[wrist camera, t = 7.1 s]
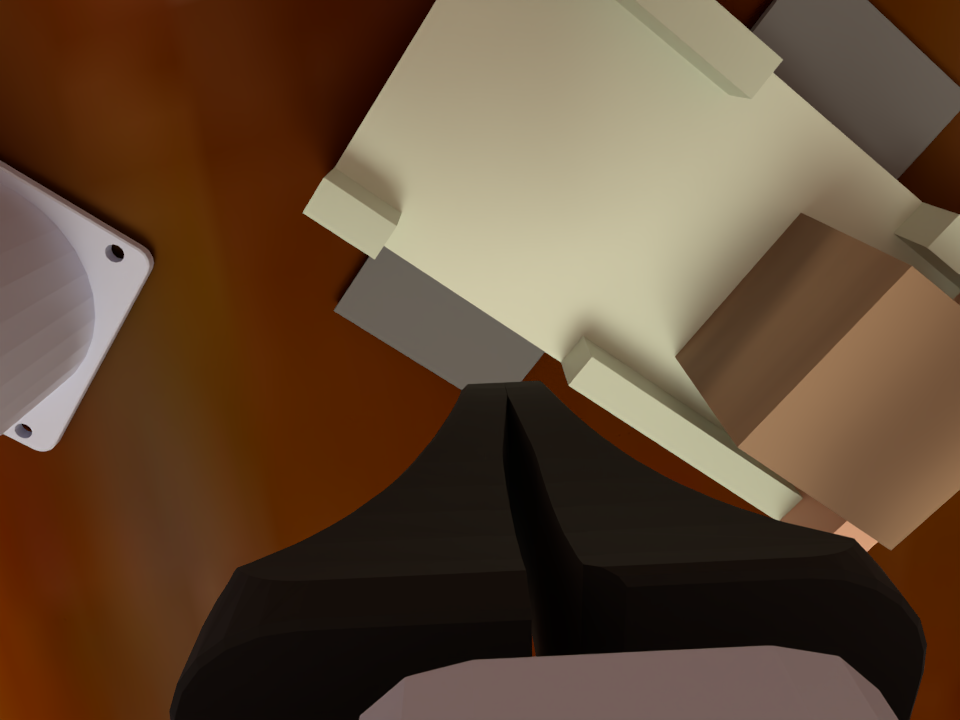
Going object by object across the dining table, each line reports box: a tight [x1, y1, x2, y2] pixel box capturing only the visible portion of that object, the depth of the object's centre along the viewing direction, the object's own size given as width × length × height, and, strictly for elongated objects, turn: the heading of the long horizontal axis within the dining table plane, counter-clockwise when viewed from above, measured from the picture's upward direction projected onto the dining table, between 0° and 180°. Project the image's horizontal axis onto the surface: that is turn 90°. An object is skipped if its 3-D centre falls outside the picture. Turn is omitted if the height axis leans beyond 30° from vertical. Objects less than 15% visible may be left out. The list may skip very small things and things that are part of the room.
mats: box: [334, 0, 960, 390], centre depth 20 cm, size 11×15×1 cm
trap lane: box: [303, 0, 960, 552], centre depth 18 cm, size 17×9×5 cm, turn 55°
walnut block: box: [675, 213, 960, 550], centre depth 18 cm, size 5×5×5 cm
